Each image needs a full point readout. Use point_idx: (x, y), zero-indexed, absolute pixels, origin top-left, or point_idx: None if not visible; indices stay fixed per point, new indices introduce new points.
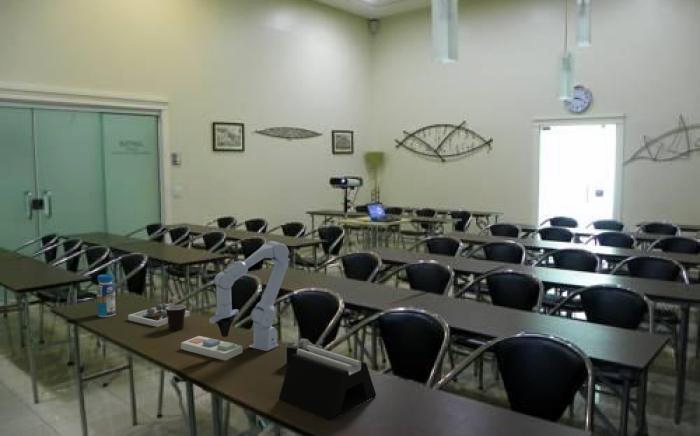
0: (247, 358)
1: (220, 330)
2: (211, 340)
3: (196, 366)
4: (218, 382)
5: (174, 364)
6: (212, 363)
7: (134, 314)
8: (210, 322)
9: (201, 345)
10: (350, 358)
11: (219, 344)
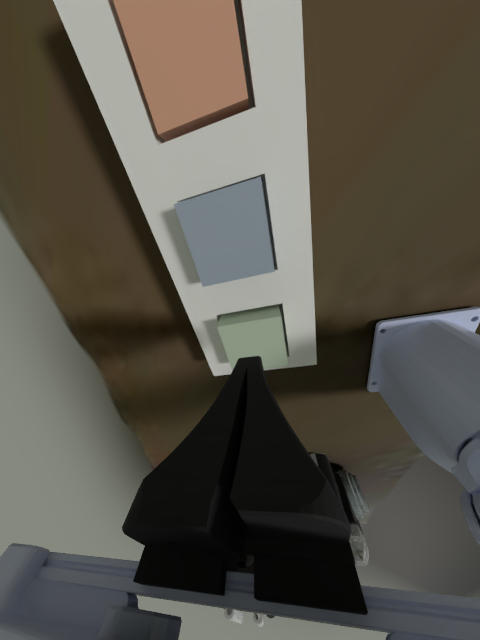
0: (279, 385)
1: (224, 390)
2: (231, 232)
3: (121, 334)
4: (145, 426)
5: (45, 264)
6: (174, 348)
7: None
8: (19, 559)
9: (170, 210)
10: (260, 626)
11: (228, 326)
